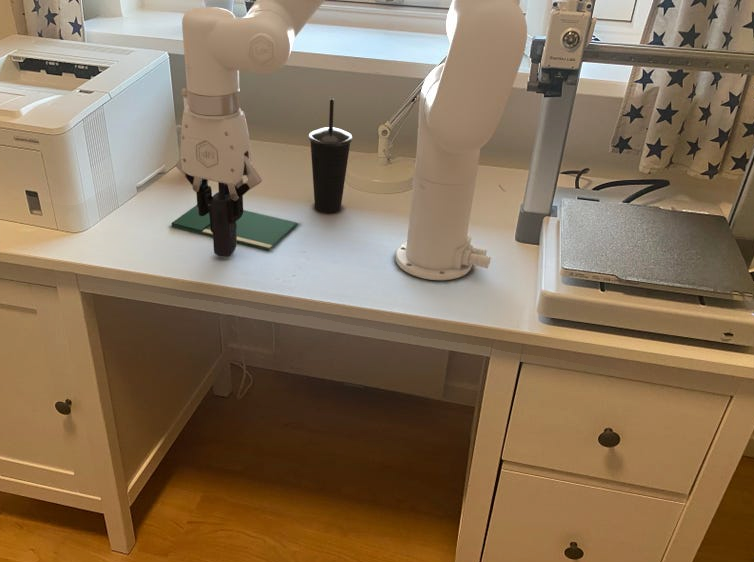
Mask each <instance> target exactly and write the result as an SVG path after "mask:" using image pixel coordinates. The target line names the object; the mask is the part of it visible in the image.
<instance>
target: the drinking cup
mask: <svg viewBox="0 0 754 562" xmlns="http://www.w3.org/2000/svg"><path fill="white" fill-rule="evenodd" d="M334 105H335V99H334V98H330V99H329V114H328V117H329V118H328V126H327V127H326V126H325V127H321V128H318V129H315V130H313V131H311V132H310V133H309V134H308V140H309V141H310V155H311V156H310V157H311V168H312V169H311V170H312V184H313V187H312V188H313V199H314V201H313V202H314V209H315V210H316V211H317V212H319V213H323V214H334V213H337V212H340V210H341V208H342V207H341V206H342V202H343V197H344V195H343V194H344V187H345V182H346V176H347V175H346V174H347V168H348V161H349V153H350V149H351V148H350V146H351V143H352V142H353V136H352V134H351V133H350V132H348V131H346V130H343V129H341V128H338V127H334V108H335V107H334Z"/></svg>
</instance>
